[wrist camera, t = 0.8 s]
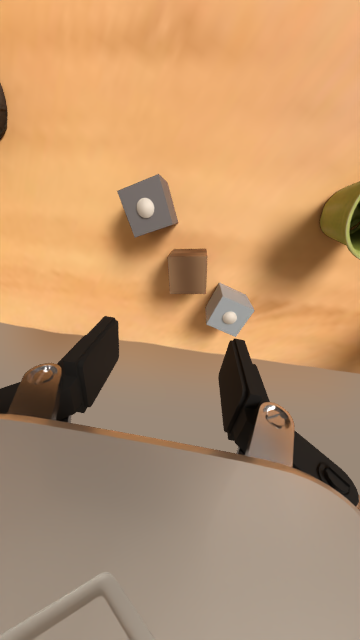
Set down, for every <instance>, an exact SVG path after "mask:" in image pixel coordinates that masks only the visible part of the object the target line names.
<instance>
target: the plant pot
mask: <svg viewBox="0 0 360 640" xmlns="http://www.w3.org/2000/svg"><path fill="white" fill-rule="evenodd" d="M359 222H360V182H357V183H355V184H352V185H350V186H347V187H345V188H343V189H341V190H339V191H338V192H336V193H335V194H334V195H333V196H332V197H331V198H330V199H329V200H328V201H327V203H326V204H325V206H324V208H323V211H322V215H321V218H320V227H321V230H322V231H323V233H324V234H325V235H327V236H328V237H330V238H332V239H334V240H336V241H338V242H340V243H342V244H344V245H346V246H347V247H348V249H349V251H350V252H351V253H352V254H353V255H354V256H355V257H356V258H358V259H360V224H359V225H358V226H357V227H356V228H354V229H353V230H349V229H350V228H352V227H353V226H355V225H356V224H357V223H359Z"/></svg>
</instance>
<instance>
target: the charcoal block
mask: <svg viewBox="0 0 360 640" xmlns="http://www.w3.org/2000/svg"><path fill="white" fill-rule="evenodd" d="M117 192H118V194H119V197H120V200H121V202H122V205H123V208H124V210H125V213H126V216H127V218H128V221H129V223H130V226H131V229H132V231H133V234H134V237H138V236H141V235H144V234H147V233H149V232H152V231H155V230H158V229H161V228H164V227H167V226H170V225H173V224H176V223H178V220H177V216H176V212H175V209H174V205H173V201H172V198H171V194H170V190H169V187H168V183H167V182H166V181H165V180H164V179H163V178H162V177H161V176H160V175H159V174H158V175H155V176H153V177H150V178H148V179H145V180H143V181H140V182H138V183H136V184H133V185H131V186H128V187H126V188H123V189H121V190H119V191H117Z"/></svg>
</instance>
